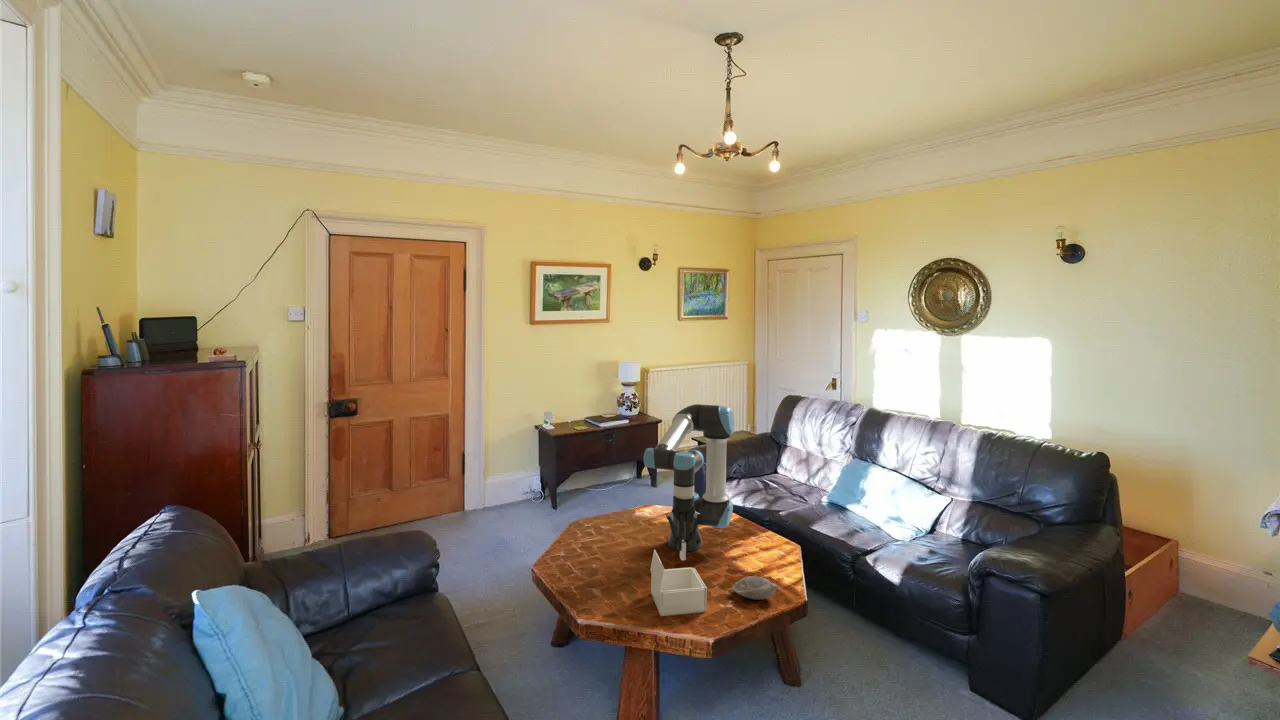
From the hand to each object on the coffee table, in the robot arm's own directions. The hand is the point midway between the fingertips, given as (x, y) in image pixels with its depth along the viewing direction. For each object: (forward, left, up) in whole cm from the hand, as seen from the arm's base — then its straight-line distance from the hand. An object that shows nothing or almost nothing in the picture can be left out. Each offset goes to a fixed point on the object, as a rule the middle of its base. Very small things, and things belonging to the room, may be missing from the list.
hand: (682, 558), depth 217 cm
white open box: (+2, 0, -17) cm, 17 cm away
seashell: (-27, +1, -17) cm, 32 cm away
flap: (+9, 0, -3) cm, 10 cm away
